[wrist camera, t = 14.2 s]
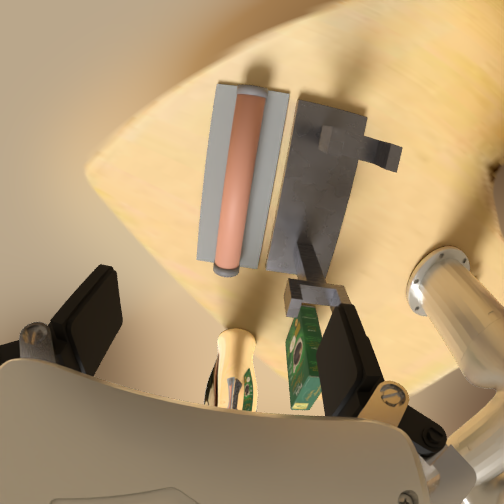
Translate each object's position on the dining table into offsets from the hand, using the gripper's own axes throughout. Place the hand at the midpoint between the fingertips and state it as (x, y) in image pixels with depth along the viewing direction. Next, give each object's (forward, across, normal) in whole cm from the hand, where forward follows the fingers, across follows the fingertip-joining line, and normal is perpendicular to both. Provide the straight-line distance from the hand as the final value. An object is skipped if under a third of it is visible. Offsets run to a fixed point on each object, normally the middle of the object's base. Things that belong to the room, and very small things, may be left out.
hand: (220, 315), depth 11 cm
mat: (+24, +1, 0) cm, 24 cm away
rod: (+22, +1, 0) cm, 22 cm away
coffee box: (+24, -11, +20) cm, 33 cm away
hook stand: (+24, -8, 0) cm, 25 cm away
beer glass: (+24, -2, +25) cm, 34 cm away
